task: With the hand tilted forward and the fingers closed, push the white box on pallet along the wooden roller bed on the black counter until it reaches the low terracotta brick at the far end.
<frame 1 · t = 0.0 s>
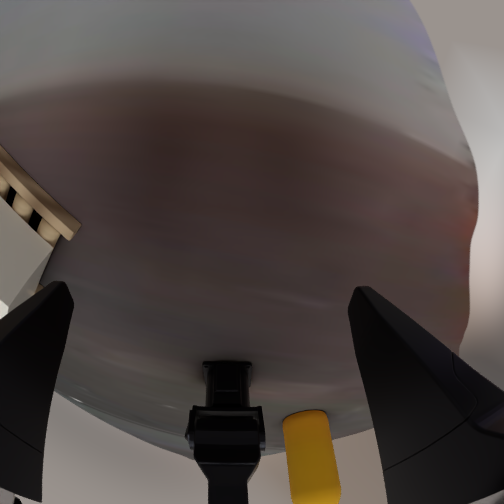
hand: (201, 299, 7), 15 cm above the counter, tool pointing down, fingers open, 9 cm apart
beer bottle: (304, 417, 47), on the counter
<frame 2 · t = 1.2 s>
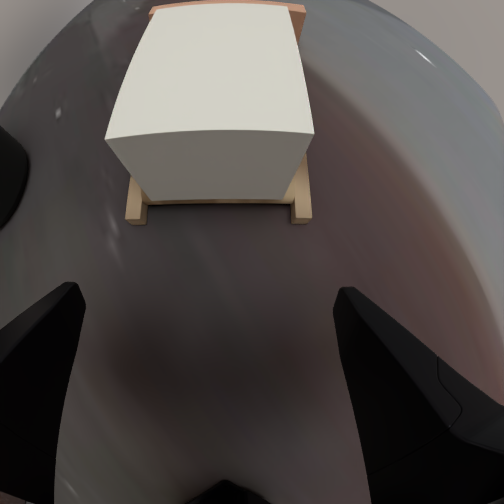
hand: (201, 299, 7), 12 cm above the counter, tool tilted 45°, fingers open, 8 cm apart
brick stop: (226, 42, 24), on the counter
white box on pallet: (216, 92, 15), point 7 cm above the counter, slide at 0.0 cm
roller bed: (221, 113, 22), on the counter
coffee jar: (2, 189, 20), on the counter
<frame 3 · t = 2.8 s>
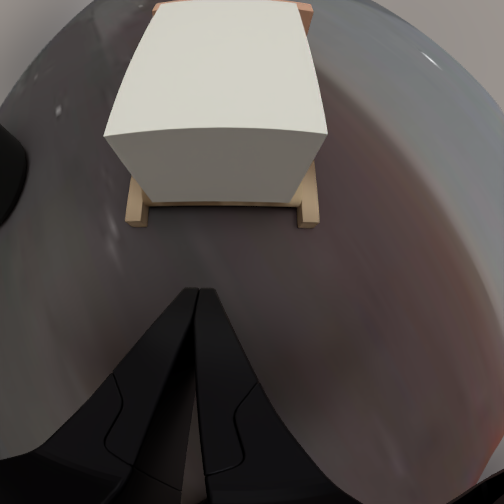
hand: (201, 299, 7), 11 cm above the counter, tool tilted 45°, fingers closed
brick stop: (231, 41, 24), on the counter
white box on pallet: (222, 90, 14), point 7 cm above the counter, slide at 0.0 cm
roller bed: (226, 112, 21), on the counter
coffee jar: (1, 188, 19), on the counter
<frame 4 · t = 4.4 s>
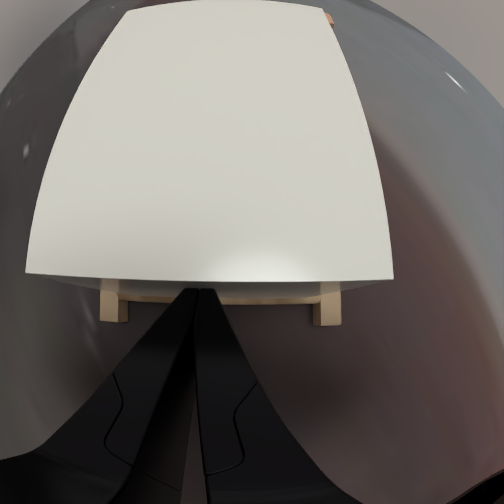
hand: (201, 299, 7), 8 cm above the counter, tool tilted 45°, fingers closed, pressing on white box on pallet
white box on pallet: (214, 143, 10), point 7 cm above the counter, slide at 0.6 cm, touching gripper
roller bed: (222, 162, 18), on the counter
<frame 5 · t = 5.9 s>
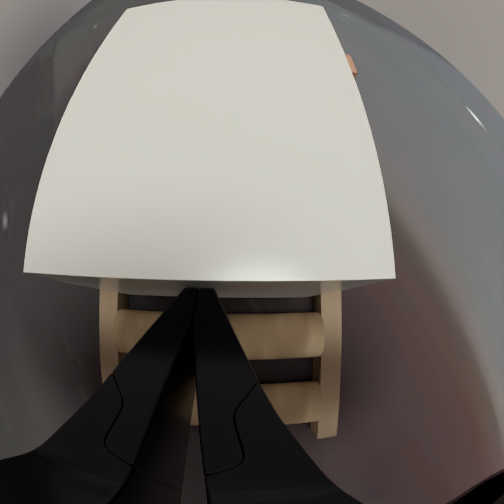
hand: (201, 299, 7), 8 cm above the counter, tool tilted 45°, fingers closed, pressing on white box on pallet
white box on pallet: (214, 141, 10), point 7 cm above the counter, slide at 7.6 cm, touching gripper
roller bed: (218, 266, 16), on the counter
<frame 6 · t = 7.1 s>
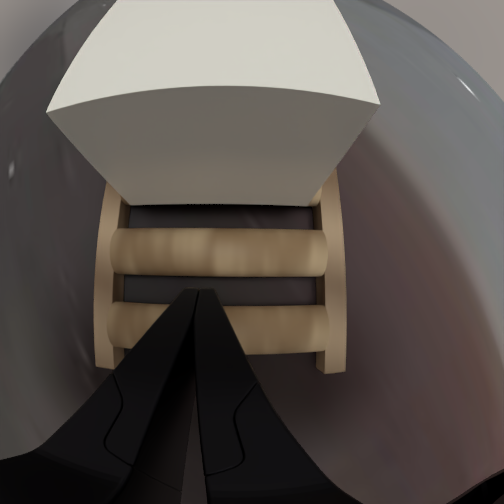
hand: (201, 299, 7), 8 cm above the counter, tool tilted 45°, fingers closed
white box on pallet: (220, 60, 10), point 7 cm above the counter, slide at 7.7 cm
roller bed: (220, 190, 16), on the counter
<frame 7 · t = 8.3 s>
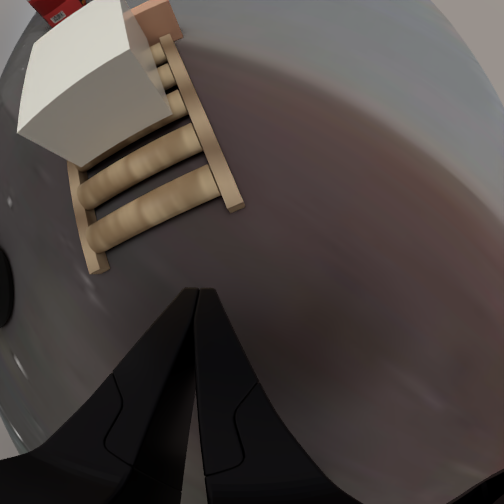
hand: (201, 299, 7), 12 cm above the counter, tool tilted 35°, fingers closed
canned food: (70, 15, 25), on the counter
brick stop: (117, 64, 22), on the counter
white box on pallet: (92, 69, 15), point 7 cm above the counter, slide at 7.7 cm
roller bed: (132, 136, 21), on the counter
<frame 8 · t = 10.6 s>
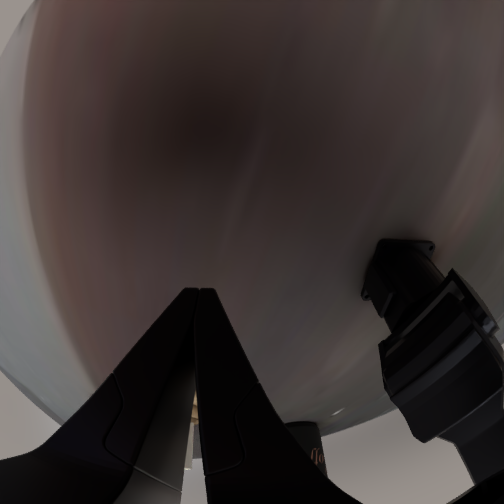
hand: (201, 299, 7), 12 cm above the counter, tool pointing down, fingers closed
white box on pallet: (146, 441, 31), point 7 cm above the counter, slide at 7.7 cm
coffee jar: (291, 429, 45), on the counter
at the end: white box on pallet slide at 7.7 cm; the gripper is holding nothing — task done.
